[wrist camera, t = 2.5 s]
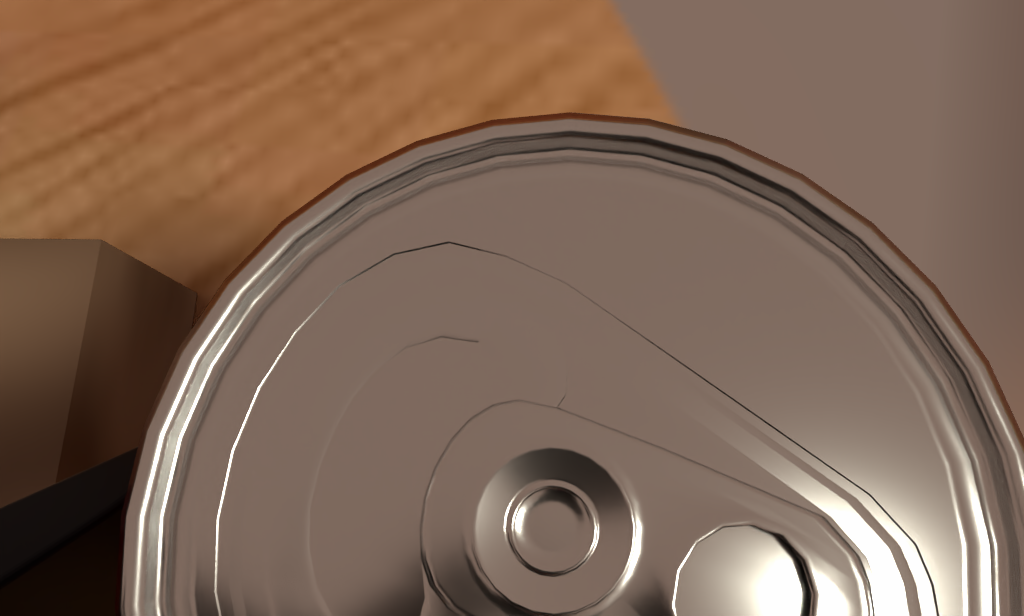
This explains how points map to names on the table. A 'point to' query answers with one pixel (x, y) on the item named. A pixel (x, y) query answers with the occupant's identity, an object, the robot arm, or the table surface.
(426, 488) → the soda can
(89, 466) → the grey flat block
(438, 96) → the table surface
